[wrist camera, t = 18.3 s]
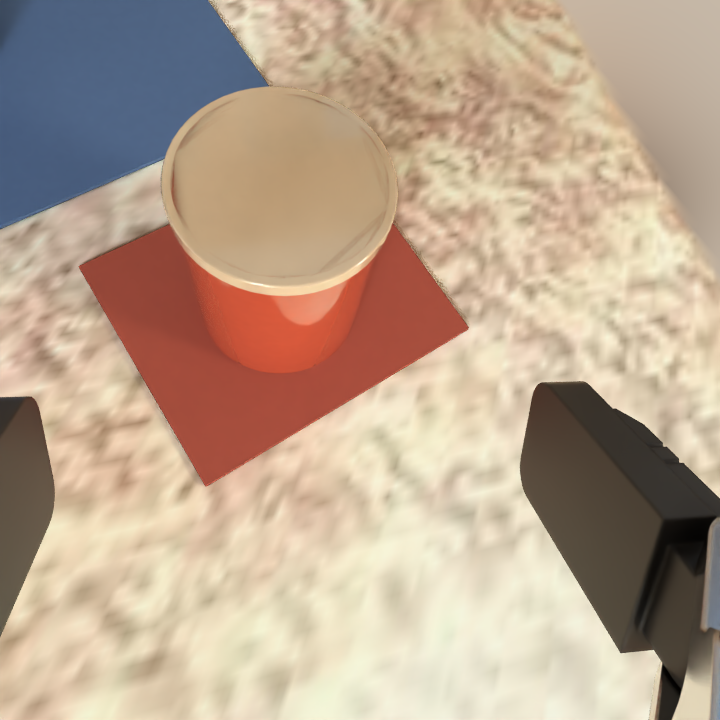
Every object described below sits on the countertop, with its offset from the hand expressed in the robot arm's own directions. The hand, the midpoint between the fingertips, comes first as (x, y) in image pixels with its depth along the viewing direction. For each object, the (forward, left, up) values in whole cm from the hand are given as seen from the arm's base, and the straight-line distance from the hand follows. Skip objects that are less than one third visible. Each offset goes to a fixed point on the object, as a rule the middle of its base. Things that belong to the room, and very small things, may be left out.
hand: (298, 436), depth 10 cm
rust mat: (+4, +7, -13) cm, 16 cm away
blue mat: (+1, +22, -13) cm, 26 cm away
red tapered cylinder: (+4, +7, -13) cm, 15 cm away
